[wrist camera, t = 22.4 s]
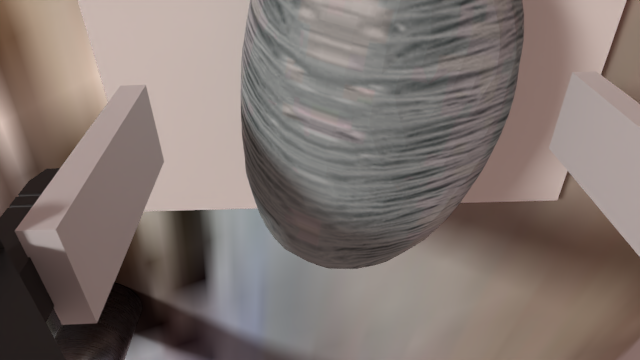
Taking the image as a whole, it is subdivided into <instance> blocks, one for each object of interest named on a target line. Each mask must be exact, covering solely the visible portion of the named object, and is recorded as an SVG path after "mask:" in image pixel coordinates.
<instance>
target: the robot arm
mask: <svg viewBox="0 0 640 360" xmlns="http://www.w3.org/2000/svg"><path fill="white" fill-rule="evenodd" d="M549 149H550V150H551V151H552V153H553V154H554V155H555V156H556V157H557V159H558V160H559V161H560V162H561V163H562V165H563V166H564V167H565V168H566V169H567V170H568V172H569V173H570V174H571V175H572V176H573V178H574V179H575V180H576V181H577V182H578V184H579V185H580V186H581V187H582V188H583V190H584V191H585V192H586V193H587V194H588V196H589V197H590V198H591V199H592V200H593V202H594V203H595V204H596V205H597V206H598V208H599V209H600V210H601V211H602V212H603V214H604V215H605V216H606V217H607V218H608V220H609V221H610V222H611V223H612V224H613V226H614V227H615V228H616V229H617V230H618V232H619V233H620V234H621V235H622V236H623V238H624V239H625V240H626V241H627V242H628V243H629V245H630V246H631V247H632V248H633V249H634V251H635V252H636V253H637V254H638V255H639V257H640V104H639V103H638V102H636V101H635V100H634V99H632V98H631V97H630V96H628V95H627V94H626V93H624V92H623V91H622V90H620V89H619V88H618V87H616V86H615V85H614V84H613V83H611V82H610V81H609V80H607V79H606V78H605V77H603V76H602V75H601V74H599V73H598V72H572V75H571V78H570V81H569V85H568V88H567V91H566V94H565V98H564V101H563V104H562V107H561V111H560V114H559V117H558V120H557V124H556V127H555V130H554V133H553V137H552V140H551V143H550V146H549ZM163 163H164V158H163V154H162V150H161V146H160V142H159V137H158V133H157V129H156V125H155V121H154V117H153V112H152V108H151V104H150V100H149V96H148V92H147V88H146V85H125V86H120V87H119V88H118V90H117V91H116V92H115V94H114V95H113V96H112V98H111V99H110V101H109V102H108V103H107V105H106V106H105V107H104V109H103V110H102V112H101V113H100V114H99V116H98V117H97V118H96V120H95V121H94V123H93V124H92V125H91V127H90V128H89V129H88V131H87V132H86V134H85V135H84V136H83V138H82V139H81V140H80V142H79V143H78V145H77V146H76V147H75V149H74V150H73V151H72V153H71V154H70V156H69V157H68V158H67V160H66V161H65V162H64V164H63V165H62V167H61V168H57V169H46V170H44V171H43V172H41V173H40V174H39V175H37V176H36V177H34V178H33V179H31V180H30V181H29V182H28V183H27V184H26V186H25V187H24V188H23V189H22V191H21V192H20V193H19V197H16V198H15V199H14V201H13V202H12V203H11V204H10V208H7V210H6V211H5V212H4V213H3V215H2V216H1V217H0V360H66V359H65V357H64V355H63V353H62V352H61V350H60V348H59V346H58V344H57V342H56V341H55V339H54V337H53V335H52V333H51V332H50V330H49V328H48V326H47V324H46V321H47V319H48V317H49V315H50V313H51V311H52V309H53V308H54V310H55V312H56V314H57V316H58V318H59V320H60V322H61V324H62V325H69V324H93V323H97V322H98V320H99V317H100V315H101V313H102V310H103V308H104V305H105V303H106V301H107V298H108V296H109V293H110V291H111V288H112V286H113V284H114V281H115V279H116V276H117V274H118V272H119V269H120V267H121V264H122V262H123V260H124V257H125V255H126V252H127V250H128V247H129V245H130V243H131V240H132V238H133V235H134V233H135V231H136V228H137V226H138V223H139V221H140V219H141V216H142V214H143V211H144V209H145V206H146V204H147V202H148V199H149V197H150V194H151V192H152V190H153V187H154V185H155V182H156V180H157V178H158V175H159V173H160V170H161V168H162V165H163Z"/></svg>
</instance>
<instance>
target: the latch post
mask: <svg viewBox="0 0 640 360" xmlns="http://www.w3.org/2000/svg"><path fill="white" fill-rule="evenodd" d="M141 311H142V303H141V300H140V299H139V297H138V296H137V295H136V294H135V293H134V292H133V291H131V290H130V289H128V288H127V287H124V286H122V285H119V284H116V283H114V284H113V286H112V288H111V291H110V293H109V296H108V298H107V301H106V303H105V305H104V308H103V310H102V313H101V315H100V317H99V320H98V322H97V323H93V324H69V325H61V327H60V329H59V331H58V333H57V335H56V337H55V341H56V342H57V344H58V346H59V348H60V350H61V352H62V353H63V355H64V357H65V359H66V360H125V357H126V354H127V351H128V349H129V346H130V343H131V340H132V337H133V334H134V331H135V329H136V326H137V323H138V320H139V317H140V314H141Z"/></svg>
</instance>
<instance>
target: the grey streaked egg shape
mask: <svg viewBox="0 0 640 360" xmlns="http://www.w3.org/2000/svg"><path fill="white" fill-rule="evenodd" d="M523 41H524V10H523V0H250V3H249V9H248V15H247V21H246V28H245V36H244V43H243V48H242V59H241V122H242V141H243V148H244V156H245V168H246V175H247V178H248V181H249V185H250V188H251V191H252V194H253V197H254V200H255V203H256V205H257V208H258V210H259V213H260V215H261V217H262V219H263V221H264V223H265V225H266V227H267V228H268V230H269V231H270V232H271V234H272V235H273V237H274V238H275V239H276V240H277V241H278V242H279V243H280V244H281V245H282V246H283V247H284V248H285V249H286V250H288V251H290V252H292V253H293V254H295V255H297V256H299V257H301V258H302V259H304V260H306V261H308V262H311V263H314V264H316V265H319V266H322V267H326V268H337V269H357V268H362V267H367V266H373V265H376V264H380V263H383V262H386V261H388V260H390V259H392V258H394V257H396V256H397V255H399V254H401V253H403V252H405V251H406V250H408V249H410V248H411V247H413V246H415V245H416V244H418V243H420V242H421V241H423V240H424V239H426V238H427V237H428V236H429V235H430V234H431V233H432V232H433V231H434V230H435V229H437V228H438V227H439V226H440V225H441V224H442V223H443V222H444V221H445V220H446V219H447V218H448V217H449V215H450V214H451V213H452V212H453V211H454V210H455V208H456V207H457V206H458V205H459V204H460V202H461V201H462V199H463V198H464V197H465V195H466V194H467V192H468V191H469V189H470V188H471V187H472V185H473V184H474V182H475V181H476V179H477V178H478V176H479V175H480V173H481V172H482V170H483V168H484V166H485V165H486V163H487V161H488V159H489V157H490V155H491V153H492V151H493V149H494V147H495V145H496V143H497V141H498V139H499V137H500V135H501V133H502V130H503V128H504V125H505V123H506V120H507V118H508V115H509V112H510V109H511V106H512V103H513V99H514V95H515V90H516V86H517V79H518V72H519V65H520V58H521V54H522V48H523Z"/></svg>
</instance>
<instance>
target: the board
mask: <svg viewBox="0 0 640 360" xmlns="http://www.w3.org/2000/svg"><path fill="white" fill-rule="evenodd" d="M626 1H627V0H523V10H524V41H523V48H522V54H521V58H520V65H519V72H518V79H517V86H516V90H515V95H514V99H513V103H512V106H511V109H510V112H509V115H508V118H507V120H506V123H505V125H504V128H503V130H502V133H501V135H500V137H499V139H498V141H497V143H496V145H495V147H494V149H493V151H492V153H491V155H490V157H489V159H488V161H487V163H486V165H485V166H484V168H483V170H482V172H481V173H480V175H479V176H478V178H477V179H476V181H475V182H474V184H473V185H472V187H471V188H470V189H469V191H468V192H467V194H466V195H465V197H464V198H463V199H462V201H461V202H460V203H477V202H514V201H552V200H558V197H559V194H560V191H561V188H562V185H563V183H564V180H565V177H566V174H567V171H568V170H567V169H566V168H565V167H564V166H563V165H562V163H561V162H560V161H559V160H558V159H557V157H556V156H555V155H554V154H553V153H552V151H551V150H550V149H549V146H550V143H551V140H552V137H553V133H554V130H555V127H556V124H557V120H558V117H559V114H560V111H561V107H562V104H563V101H564V98H565V94H566V91H567V88H568V85H569V81H570V78H571V75H572V72H598V73H599V74H601V73H602V70H603V67H604V64H605V61H606V58H607V56H608V53H609V50H610V47H611V44H612V41H613V38H614V35H615V32H616V30H617V27H618V24H619V21H620V18H621V15H622V12H623V9H624V7H625V4H626ZM78 3H79V7H80V10H81V13H82V17H83V20H84V23H85V27H86V30H87V33H88V37H89V40H90V44H91V47H92V50H93V54H94V57H95V60H96V64H97V67H98V71H99V74H100V77H101V81H102V84H103V87H104V91H105V94H106V97H107V101H108V102H109V101H110V99H111V98H112V96H113V95H114V94H115V92H116V91H117V90H118V88H119V87H120V86H125V85H146V88H147V92H148V96H149V100H150V104H151V108H152V112H153V117H154V121H155V125H156V129H157V133H158V137H159V142H160V146H161V150H162V154H163V158H164V163H163V165H162V168H161V170H160V173H159V175H158V178H157V180H156V182H155V185H154V187H153V190H152V192H151V194H150V197H149V199H148V202H147V204H146V206H145V209H144V211H176V210H214V209H251V208H257V205H256V203H255V200H254V197H253V194H252V191H251V188H250V185H249V181H248V178H247V175H246V168H245V156H244V148H243V141H242V122H241V59H242V48H243V43H244V36H245V28H246V21H247V15H248V9H249V3H250V0H78Z"/></svg>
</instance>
